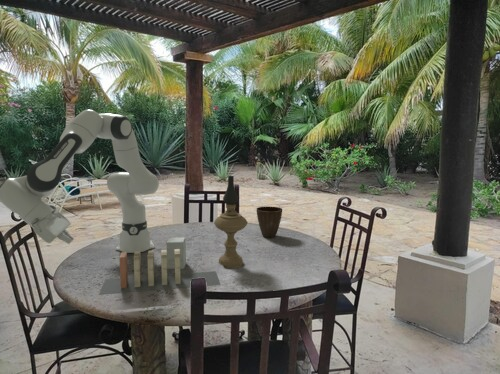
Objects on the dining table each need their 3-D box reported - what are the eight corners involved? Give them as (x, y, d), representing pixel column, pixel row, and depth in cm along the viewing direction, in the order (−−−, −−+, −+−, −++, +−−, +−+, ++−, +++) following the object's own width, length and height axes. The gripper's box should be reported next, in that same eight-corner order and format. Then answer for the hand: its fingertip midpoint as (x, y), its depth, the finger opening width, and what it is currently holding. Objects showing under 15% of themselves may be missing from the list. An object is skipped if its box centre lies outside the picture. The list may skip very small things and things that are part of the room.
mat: (105, 281, 144) (105, 279, 144) (215, 273, 154) (215, 271, 154) (98, 296, 131) (98, 294, 131) (220, 286, 140) (220, 284, 140)
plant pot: (251, 234, 213) (252, 207, 211) (274, 231, 220) (274, 205, 217) (263, 240, 200) (263, 212, 198) (286, 237, 206) (287, 210, 204)
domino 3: (149, 279, 144) (148, 250, 142) (154, 279, 144) (153, 250, 143) (148, 286, 138) (147, 255, 136) (153, 285, 139) (152, 255, 137)
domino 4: (162, 278, 145) (161, 250, 143) (167, 278, 145) (166, 249, 144) (162, 285, 139) (161, 254, 137) (167, 284, 140) (166, 254, 138)
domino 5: (175, 278, 146) (174, 249, 144) (180, 277, 146) (179, 248, 145) (175, 284, 140) (174, 254, 138) (180, 283, 141) (180, 253, 139)
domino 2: (136, 280, 143) (134, 251, 141) (141, 280, 143) (140, 251, 141) (134, 287, 137) (133, 256, 135) (140, 286, 137) (139, 256, 136)
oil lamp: (217, 271, 156) (216, 178, 150) (211, 259, 170) (210, 174, 164) (251, 267, 160) (252, 177, 154) (242, 256, 174) (243, 173, 168)
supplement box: (186, 264, 164) (186, 237, 162) (184, 270, 156) (183, 242, 155) (170, 264, 163) (169, 237, 162) (166, 270, 156) (166, 242, 154)
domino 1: (122, 281, 142) (121, 252, 140) (128, 281, 142) (126, 252, 140) (120, 288, 136) (119, 257, 134) (126, 287, 136) (125, 257, 135)
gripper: (36, 216, 119) (70, 243, 123) (55, 204, 139) (84, 228, 142) (22, 230, 119) (56, 257, 122) (43, 216, 139) (72, 240, 142)
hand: (71, 241), depth 133 cm, fingers closed
